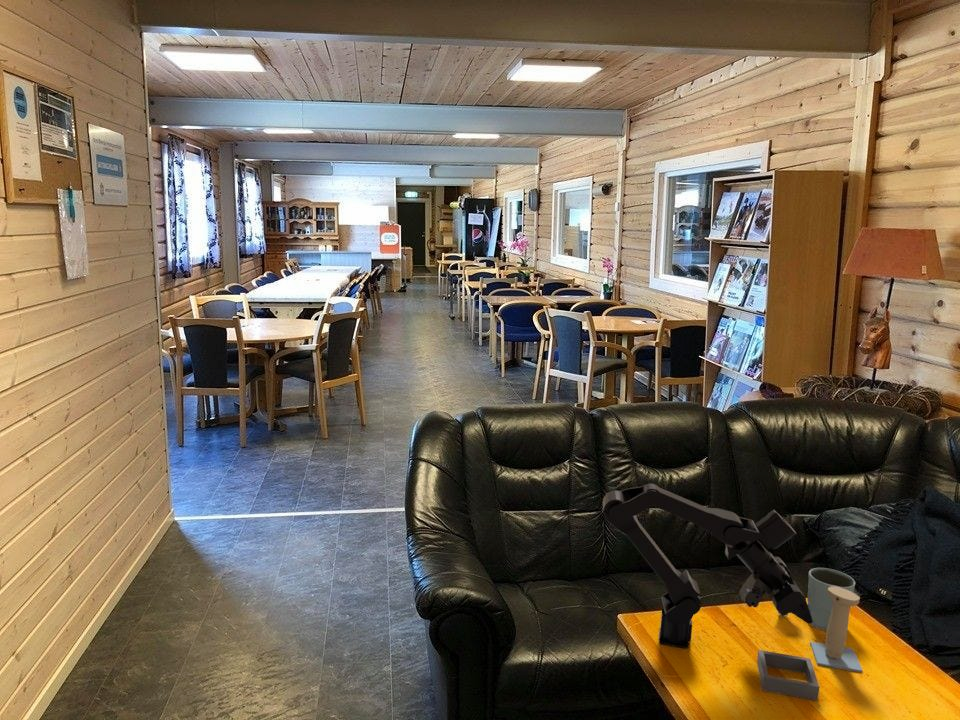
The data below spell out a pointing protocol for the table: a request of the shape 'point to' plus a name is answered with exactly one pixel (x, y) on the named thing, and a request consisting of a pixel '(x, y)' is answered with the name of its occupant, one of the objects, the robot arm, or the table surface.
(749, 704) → the table surface
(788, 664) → the grey square frame
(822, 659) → the mat
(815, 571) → the grey cup
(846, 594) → the handle
